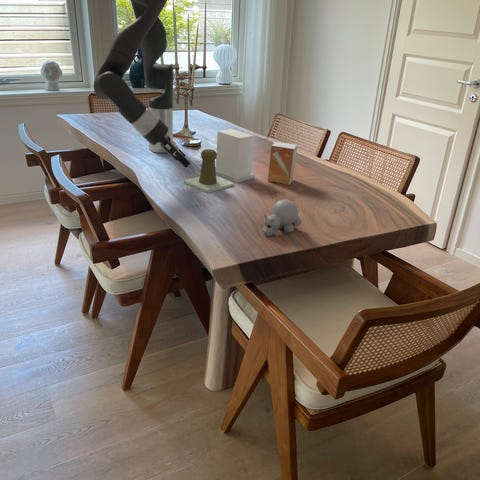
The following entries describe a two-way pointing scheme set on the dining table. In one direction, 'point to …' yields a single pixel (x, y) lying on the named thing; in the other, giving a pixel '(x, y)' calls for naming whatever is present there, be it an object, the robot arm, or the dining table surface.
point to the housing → (234, 155)
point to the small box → (282, 162)
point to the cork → (208, 167)
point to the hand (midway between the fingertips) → (185, 161)
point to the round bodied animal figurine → (282, 217)
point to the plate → (209, 188)
